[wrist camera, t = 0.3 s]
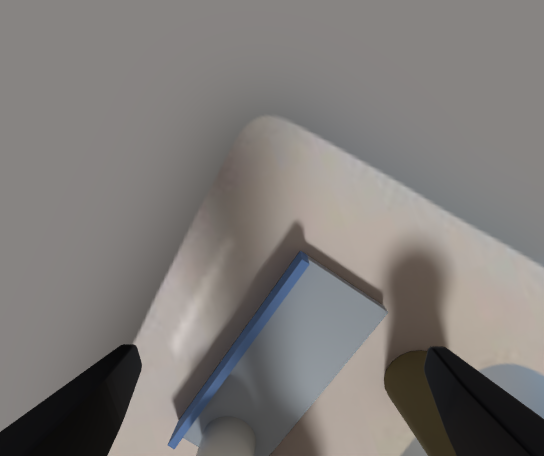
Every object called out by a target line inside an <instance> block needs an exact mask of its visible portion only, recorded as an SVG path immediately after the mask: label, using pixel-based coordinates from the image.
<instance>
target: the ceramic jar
mask: <svg viewBox="0 0 544 456" xmlns="http://www.w3.org/2000/svg"><path fill="white" fill-rule="evenodd" d="M255 446H256V437H255V433H254V431H253V430H252V428H251V427H250V426H249V425H248V424H247V423H246V422H244V421H243V420H241V419H238V418H235V417H220V418H217V419H214V420H213V421H211V422H210V423H209V424H208V425H207V426H206V428H205V430H204V433H203V436H202V439H201V442H200V445H199V448H198V451H197V454H196V456H254V455H255Z"/></svg>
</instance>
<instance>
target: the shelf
mask: <svg viewBox="0 0 544 456" xmlns="http://www.w3.org/2000/svg"><path fill="white" fill-rule="evenodd" d="M387 314H388V311H387V310H386V308H385V307H384V306H383V305H382V304H380V303H379V302H377V301H376V300H374V299H373V298H371V297H370V296H368V295H367V294H365V293H364V292H362V291H361V290H359V289H358V288H356V287H355V286H353V285H352V284H350V283H348V282H347V281H345V280H344V279H342V278H341V277H339V276H338V275H336V274H335V273H333V272H332V271H330V270H329V269H327V268H326V267H324V266H323V265H321V264H320V263H318V262H317V261H315V260H314V259H312V258H311V257H309V256H308V255H306V254H305V253H303V252H302V251H300V252H299V253H298V255H297V256H296V257H295V259H294V260H293V262H292V263H291V264H290V266H289V267H288V269H287V270H286V271H285V273H284V274H283V276H282V277H281V278H280V280H279V281H278V283H277V284H276V285H275V287H274V288H273V290H272V291H271V292H270V294H269V295H268V297H267V298H266V299H265V301H264V302H263V304H262V305H261V306H260V308H259V309H258V311H257V312H256V313H255V315H254V316H253V317H252V319H251V320H250V322H249V323H248V324H247V326H246V327H245V329H244V330H243V331H242V333H241V334H240V336H239V337H238V338H237V340H236V341H235V343H234V344H233V345H232V347H231V348H230V350H229V351H228V352H227V354H226V355H225V357H224V358H223V359H222V361H221V362H220V364H219V365H218V366H217V368H216V369H215V371H214V372H213V373H212V375H211V376H210V378H209V379H208V380H207V382H206V383H205V384H204V386H203V387H202V389H201V390H200V391H199V393H198V394H197V396H196V397H195V398H194V400H193V401H192V403H191V404H190V405H189V407H188V408H187V410H186V411H185V412H184V414H183V415H182V417H181V418H180V419H179V421H178V423H177V425H176V427H175V430H174V432H173V434H172V437H171V439H170V441H169V443H168V446H170V447H171V448H173V449H175V448H176V446H177V445H178V443H179V442H180V441H181V439H182V438H184V439H186V440H188V441H189V442H191V443H193V444H194V445H196V446H198V447H199V445H200V442H201V439H202V436H203V433H204V430H205V428H206V426H207V425H208V424H209V423H210V422H211V421H213V420H214V419H217V418H220V417H235V418H238V419H241V420H243V421H244V422H246V423H247V424H248V425H249V426H250V427H251V428H252V430H253V431H254V433H255V437H256V446H255V455H254V456H269V455H270V454H271V453H272V452H273V451H274V449H275V448H276V447H277V446H278V445H279V443H280V442H281V441H282V440H283V439H284V437H285V436H286V435H287V434H288V433H289V431H290V430H291V429H292V428H293V427H294V425H295V424H296V423H297V422H298V421H299V419H300V418H301V417H302V416H303V415H304V413H305V412H306V411H307V410H308V409H309V407H310V406H311V405H312V404H313V403H314V401H315V400H316V399H317V398H318V397H319V395H320V394H321V393H322V392H323V391H324V389H325V388H326V387H327V386H328V385H329V383H330V382H331V381H332V380H333V379H334V377H335V376H336V375H337V374H338V373H339V371H340V370H341V369H342V368H343V367H344V365H345V364H346V363H347V362H348V360H349V359H350V358H351V357H352V356H353V354H354V353H355V352H356V351H357V350H358V348H359V347H360V346H361V345H362V344H363V342H364V341H365V340H366V339H367V338H368V336H369V335H370V334H371V333H372V332H373V330H374V329H375V328H376V327H377V326H378V324H379V323H380V322H381V321H382V320H383V318H384V317H385V316H386V315H387Z"/></svg>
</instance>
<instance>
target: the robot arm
mask: <svg viewBox="0 0 544 456" xmlns="http://www.w3.org/2000/svg"><path fill="white" fill-rule="evenodd" d="M141 368H142V363H141V359H140V356H139V352H138V349H137V347H136V345H133V344H126V345H125V344H124V345H121V346H119V347H118V348H116V349H115V350H113V351H112V352H111V353H109V354H108V355H106V356H105V357H104V358H102V359H101V360H100V361H98V362H97V363H95V364H94V365H93V366H91V367H90V368H88V369H87V370H86V371H84V372H83V373H81V374H80V375H79V376H77V377H76V378H75V379H73V380H72V381H70V382H69V383H68V384H66V385H65V386H63V387H62V388H61V389H59V390H58V391H56V392H55V393H54V394H52V395H51V396H50V397H48V398H47V399H45V400H44V401H43V402H41V403H40V404H38V405H37V406H36V407H34V408H33V409H32V410H30V411H29V412H27V413H26V414H25V415H23V416H22V417H20V418H19V419H18V420H16V421H15V422H13V423H12V424H11V425H9V426H8V427H6V428H5V429H4V430H2V431H1V432H0V456H107V455H108V453H109V451H110V449H111V447H112V444H113V442H114V440H115V438H116V436H117V434H118V431H119V429H120V427H121V424H122V422H123V419H124V417H125V414H126V411H127V409H128V406H129V403H130V400H131V397H132V395H133V392H134V389H135V386H136V384H137V381H138V378H139V375H140V372H141ZM424 373H425V376H426V379H427V382H428V384H429V387H430V390H431V393H432V396H433V398H434V401H435V404H436V407H437V410H438V412H439V415H440V418H441V421H442V423H443V426H444V428H445V431H446V433H447V436H448V438H449V440H450V442H451V444H452V447H453V449H454V451H455V453H456V455H457V456H544V419H543V418H542V417H540V416H539V415H538V414H536V413H535V412H533V411H532V410H531V409H529V408H528V407H526V406H525V405H524V404H522V403H521V402H520V401H518V400H517V399H516V398H514V397H513V396H511V395H510V394H509V393H507V392H506V391H505V390H503V389H502V388H500V387H499V386H498V385H496V384H495V383H494V382H492V381H491V380H490V379H488V378H487V377H485V376H484V375H483V374H481V373H480V372H479V371H477V370H476V369H475V368H473V367H472V366H470V365H469V364H468V363H466V362H465V361H464V360H462V359H461V358H460V357H458V356H457V355H455V354H454V353H453V352H451V351H450V350H449V349H447V348H445V347H439V346H432V347H430V348H429V349H428V352H427V356H426V360H425V364H424Z"/></svg>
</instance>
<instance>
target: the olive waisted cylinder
mask: <svg viewBox="0 0 544 456" xmlns="http://www.w3.org/2000/svg"><path fill="white" fill-rule="evenodd" d="M426 356H427V351H422V350H421V351H411V352H408V353H406V354H403V355H401V356H399V357H398V358H397V359H395V360H394V361H393V362H392V363H391V364H390V366H389V367H388V369H387V370H386V374H385V377H384V384H385V389H386V391H387V394H388V396H389V397H390V399H391V400H392V402H393V403H394V405H395V406H396V408H397V409H398V411H399V412H400V414H401V415H402V417H403V418H404V420H405V421H406V423H407V424H408V426H409V427H410V429H411V430H412V432H413V433H414V435H415V436H416V438H417V440H418V441H419V443H420V444H421V445H422V447H423V449H424V450H425V451H426V453H427V455H428V456H457V455H456V453H455V451H454V449H453V447H452V444H451V442H450V440H449V438H448V436H447V433H446V431H445V428H444V426H443V423H442V421H441V418H440V415H439V412H438V410H437V407H436V404H435V401H434V398H433V396H432V393H431V390H430V387H429V384H428V382H427V379H426V376H425V373H424V364H425V360H426Z"/></svg>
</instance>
